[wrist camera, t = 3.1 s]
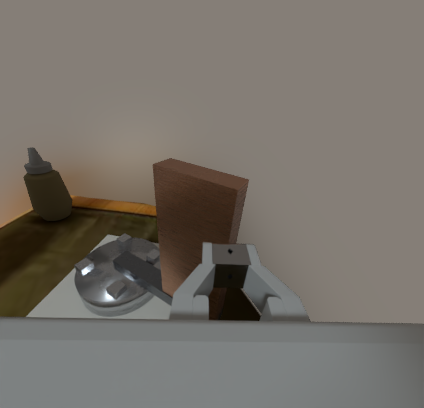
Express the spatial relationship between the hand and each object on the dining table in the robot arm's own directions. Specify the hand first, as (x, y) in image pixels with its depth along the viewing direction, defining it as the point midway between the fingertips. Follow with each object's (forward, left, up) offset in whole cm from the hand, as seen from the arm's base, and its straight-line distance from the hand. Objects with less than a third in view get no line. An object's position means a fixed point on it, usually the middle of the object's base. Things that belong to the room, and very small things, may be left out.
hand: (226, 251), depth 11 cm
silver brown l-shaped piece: (-11, +9, -21) cm, 26 cm away
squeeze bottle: (-45, +27, -24) cm, 58 cm away
